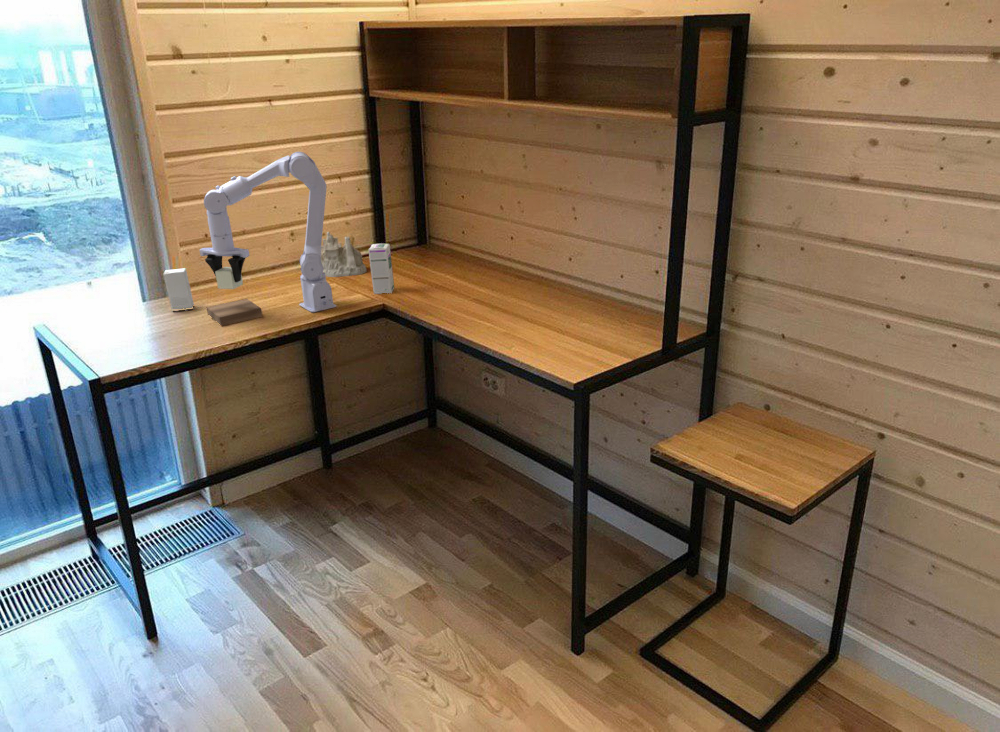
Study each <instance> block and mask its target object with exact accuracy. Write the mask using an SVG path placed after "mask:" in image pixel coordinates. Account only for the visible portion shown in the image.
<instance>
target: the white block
mask: <svg viewBox="0 0 1000 732" xmlns="http://www.w3.org/2000/svg"><path fill="white" fill-rule="evenodd" d="M215 274H216V276H215V279H216V284H217V289H219V290H220V289H221V290H222V289H223V290H235V289H236V288H238V287H241V286H243V285H244V281H243V276H242V275H243V274H242V273H241V281H239V282H235V281H234V277H233V272H232V268H231V266H223V267H222V268H221V269H219V270H217V271H215ZM215 274H214V275H215Z"/></svg>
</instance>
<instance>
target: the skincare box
mask: <svg viewBox="0 0 1000 732" xmlns="http://www.w3.org/2000/svg"><path fill="white" fill-rule="evenodd" d="M162 275H163V279H164V282H165V286H166V291H167V296H168V299H169V304H170V307H171V310H172V309H183V308H184V309H186V308H192V307H193V305H194V306H195V304H194V300H193V294H192V290H191V286H190V281H189V277H188V271H187V268H185V267H184V268H182V267H181V268H176V269H175V268H174V269H173V268H171V269H165V271H164V272H163V274H162Z"/></svg>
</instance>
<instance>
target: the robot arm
mask: <svg viewBox="0 0 1000 732" xmlns="http://www.w3.org/2000/svg"><path fill="white" fill-rule="evenodd" d="M289 173H290V174H291V176H292V177H294V178H295V179H297V180H298V181H300V182H302V183H303V184H304V185H305V187H307V188H308V190H309V192H308V202H307V203H308V204H307V205H308V206H307V214H306V215H307V218H306V230H305V240H304V241H305V242H304V247H303V253H302V254H301V256H300V258H299V264H300V272H301V275H300V276H299V277H300V284H301V291H302V298H303V299H302V301H303V302H300V303H299V304H298V305H299V306H300V307H302V308H303V309H305V310H306V311H308V312H310V313H316V312H322V311H325V310H328V309H333V308H336V307H337V304H335V303H334V299H333V291H332V287H331V284H330V283H329V282H328V281H327V276H325V273H324V272H323V265H322V261H321V246H322V244H323V230H324V221H325V219H324V218H325V209H326V208H325V207H326V199H327V198H326V196H327V183H326V180H325V179H324V177H323V175H322V173H321V171H320V170H319V167H318V166H317V165H316V163H315V161H314V160H313V159H312V158H311V157H310V156H309V155H308V154H307V153H305V152H303V151H295V152H293V153H292V154H290V155H289V154H288V155H286V156H283V157H280V158H278V159H277V160H275V161H273V162H272V163H270V164H268V165H266V166H264V167H263V168H261V169H259V170H258V171H256V172H255V173H253V174H251V175H249V176H247V177H246V176H242V175H239V176H237V177H236V175H234V176H232V177H230V180H229V181H227V182H226V183H224V184H221V185H216V186H215V189H210V190H209V191H208V192H207V193H206V194H205V196H204V198H203V205H204V208H205V209H206V216H207V223H208V224H207V225H208V229H209V230H208V231H209V234H210V241H211V246H212V247H202V248H200V249H199V255H200V257H205V256H206V258H205V259H204V260H205V262H206V264H207V265H208V266H209V267H210V269H211V271H212V272H213V274H214V276H215V277H216V274H215V271H217V270H219V269H221V268H223V257H231V258H228V259H227V261H228V263H229V267H231V268H232V272H233V277H234V281H235V282H239V281H241V274H242V270H243V266H244V263H245V260H246V258H249V257H250V251H249V249H248V248H247V249H246V248H240V247H235V244H234V239H233V238H234V237H233V232H232V228H231V227H232V226H231V222H230V221H231V220H230V215H228V209H227V207H228V206H232V205H234V204H237V203H238V202H240V201H242V200H244V199H246V198H248V197H250V196H252V192H253V189H254V188H256V187H258V186H260V185H262V184H264V183H266V182H268V181H271V180H272V179H275V178H276V177H288V178H290V174H289Z"/></svg>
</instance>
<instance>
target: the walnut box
mask: <svg viewBox="0 0 1000 732" xmlns="http://www.w3.org/2000/svg"><path fill="white" fill-rule="evenodd" d="M206 311H207V316H208V315H210V316H211V317H212V318H213V319H214V320H215V321H217V322H218V323H219V324H220V325H224V326H227V325H231V324H235V323H236V324H237V323H240V322H241V323H242V322H244V321H250V320H253V319H256V318H257V319H258V318H261V317H263V312H262V308H261V307H260V306H259V305H257V304H256V303H254V302H252V301H251V300H250V299H248V298H244V299H239V300H233V301H228V302H225V303H220V304H215V305H211V306H207V307H206ZM212 318H211V319H212ZM213 319H212V320H213ZM214 320H213V321H214ZM215 321H214V322H215ZM217 322H216V323H217ZM218 323H217V324H218ZM219 324H218V325H219ZM220 325H219V326H220Z"/></svg>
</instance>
